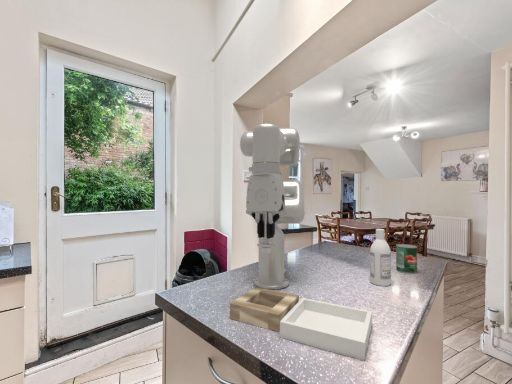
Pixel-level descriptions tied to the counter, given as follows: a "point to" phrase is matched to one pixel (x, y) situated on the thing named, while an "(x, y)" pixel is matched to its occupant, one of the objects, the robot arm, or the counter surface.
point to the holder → (263, 307)
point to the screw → (265, 236)
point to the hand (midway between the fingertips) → (265, 237)
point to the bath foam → (380, 260)
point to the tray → (329, 327)
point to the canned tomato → (406, 258)
